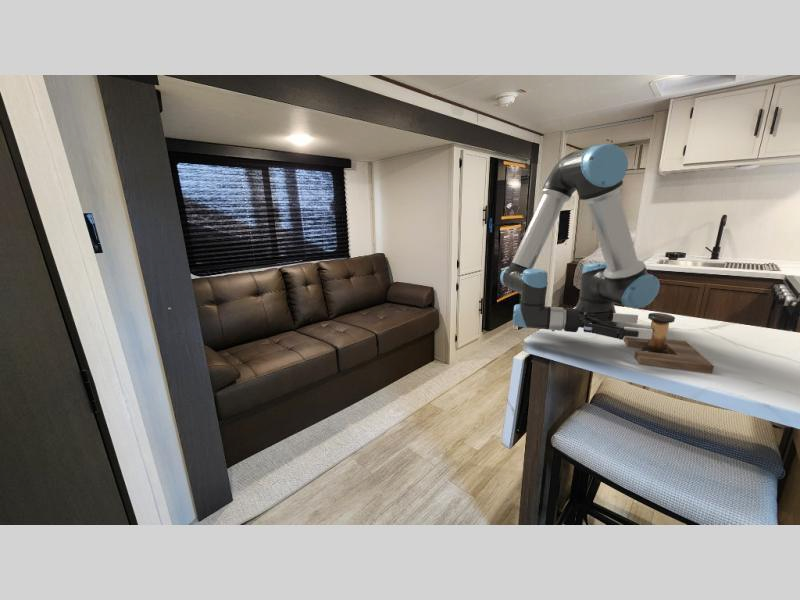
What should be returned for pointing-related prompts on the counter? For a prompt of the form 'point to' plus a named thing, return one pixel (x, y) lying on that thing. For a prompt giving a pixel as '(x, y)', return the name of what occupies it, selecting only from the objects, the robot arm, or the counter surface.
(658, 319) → the bobbin
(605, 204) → the robot arm
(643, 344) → the notched board
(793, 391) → the counter surface
